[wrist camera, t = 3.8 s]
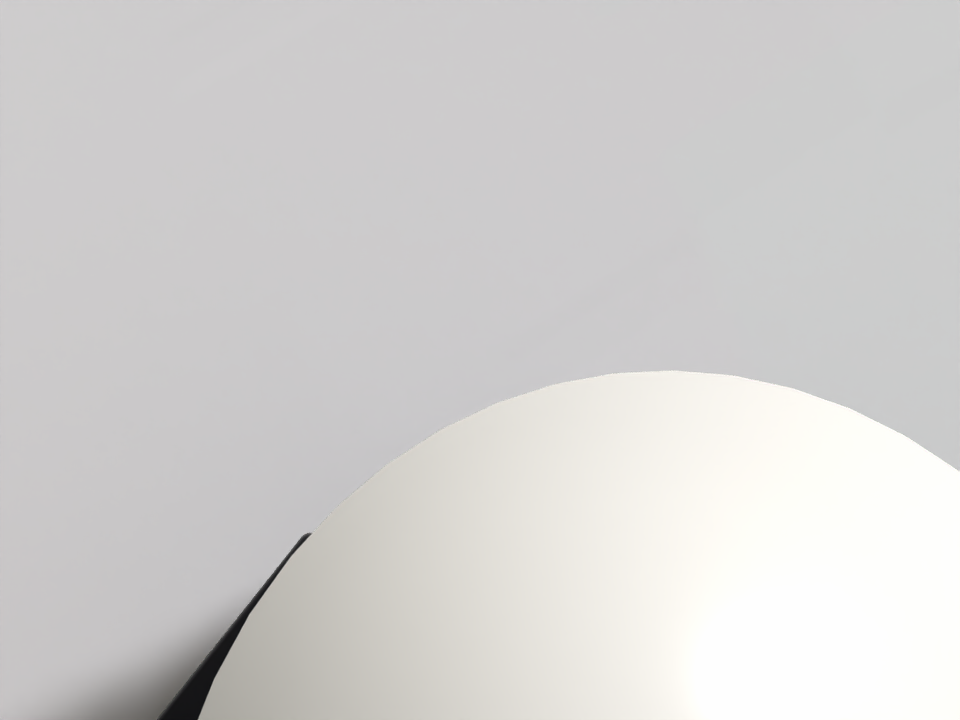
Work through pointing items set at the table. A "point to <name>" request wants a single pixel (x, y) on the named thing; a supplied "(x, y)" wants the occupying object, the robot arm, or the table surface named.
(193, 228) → the table surface
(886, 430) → the grey jar
